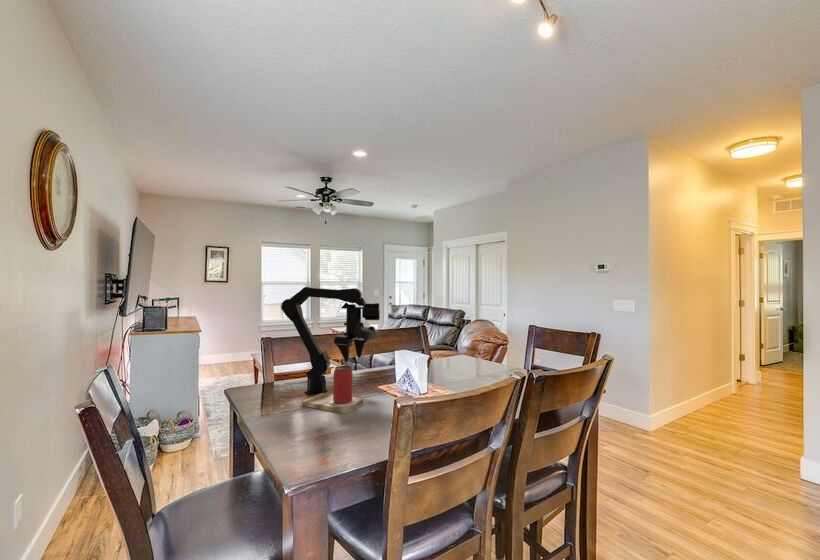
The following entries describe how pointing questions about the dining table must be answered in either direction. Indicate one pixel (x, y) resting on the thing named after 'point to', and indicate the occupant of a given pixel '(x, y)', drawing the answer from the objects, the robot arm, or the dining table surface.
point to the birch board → (331, 403)
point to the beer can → (342, 385)
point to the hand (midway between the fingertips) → (353, 359)
